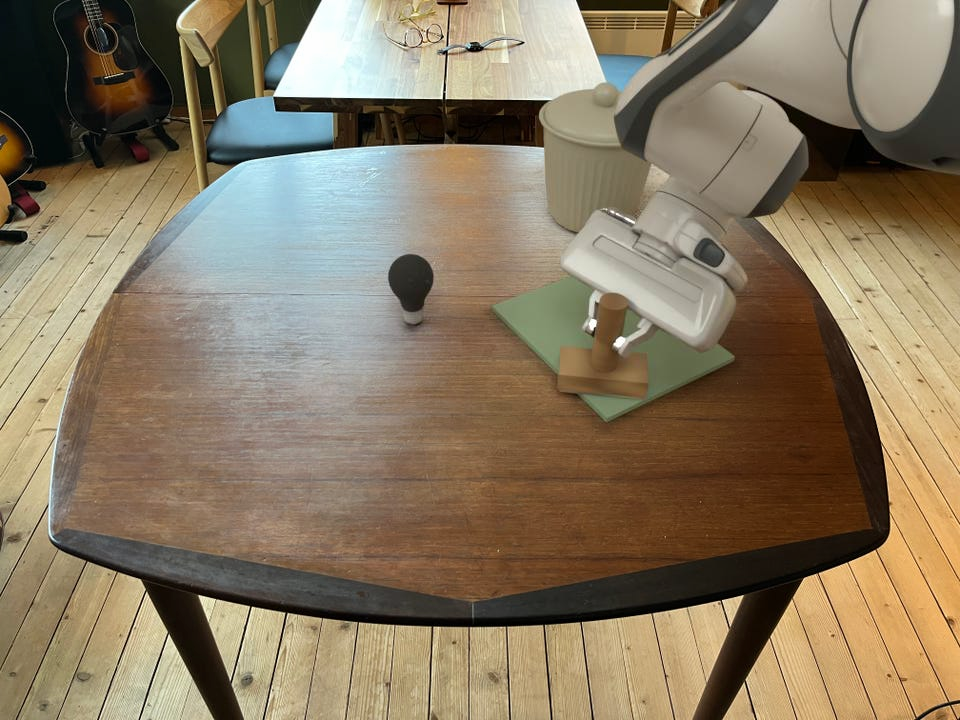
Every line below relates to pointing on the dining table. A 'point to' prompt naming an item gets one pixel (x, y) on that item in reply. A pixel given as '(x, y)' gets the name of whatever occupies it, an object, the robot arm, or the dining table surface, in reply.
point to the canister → (588, 158)
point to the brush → (604, 359)
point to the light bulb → (411, 284)
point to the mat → (558, 322)
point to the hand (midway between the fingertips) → (603, 344)
